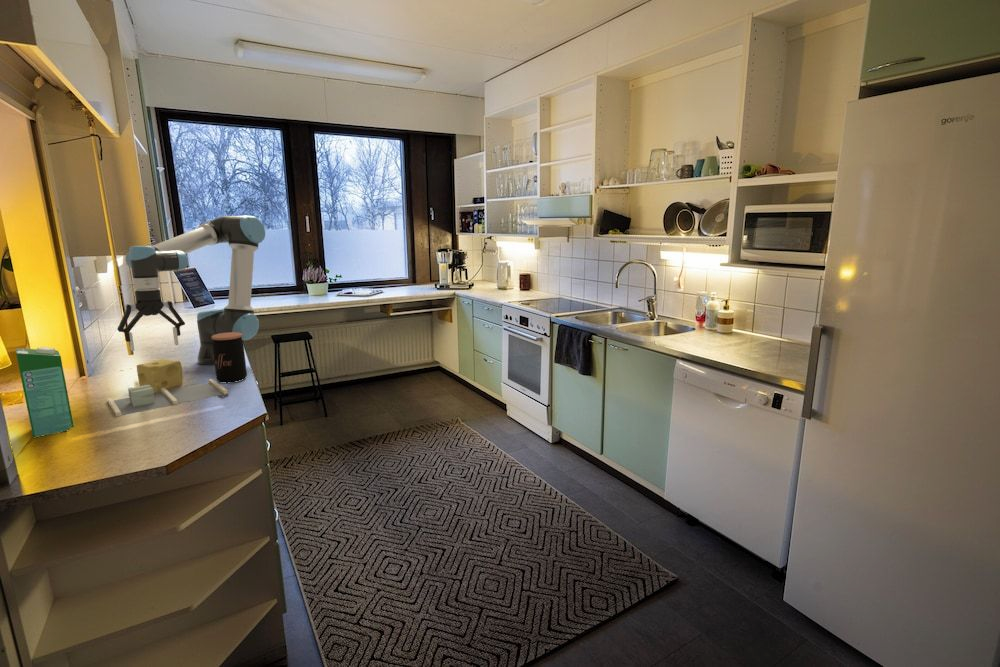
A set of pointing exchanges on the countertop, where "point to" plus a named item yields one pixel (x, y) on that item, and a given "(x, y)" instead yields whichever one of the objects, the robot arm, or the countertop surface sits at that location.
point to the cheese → (160, 374)
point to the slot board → (170, 397)
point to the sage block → (141, 395)
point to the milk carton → (44, 390)
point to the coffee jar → (229, 357)
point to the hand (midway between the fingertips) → (155, 347)
